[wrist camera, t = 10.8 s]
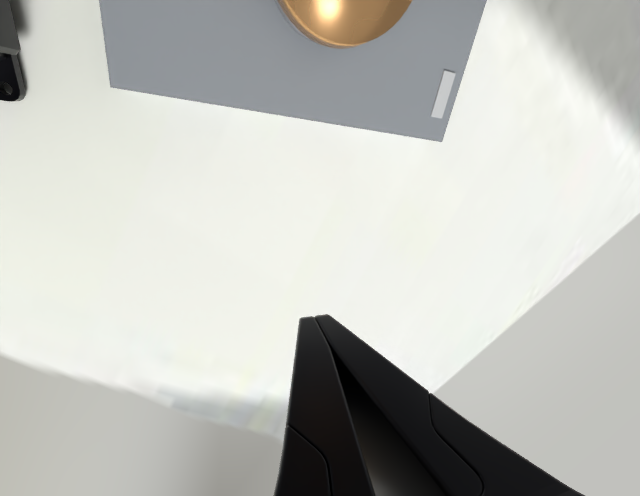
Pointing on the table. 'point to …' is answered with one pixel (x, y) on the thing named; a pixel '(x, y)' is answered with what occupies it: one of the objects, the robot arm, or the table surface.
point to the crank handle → (344, 19)
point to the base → (294, 61)
